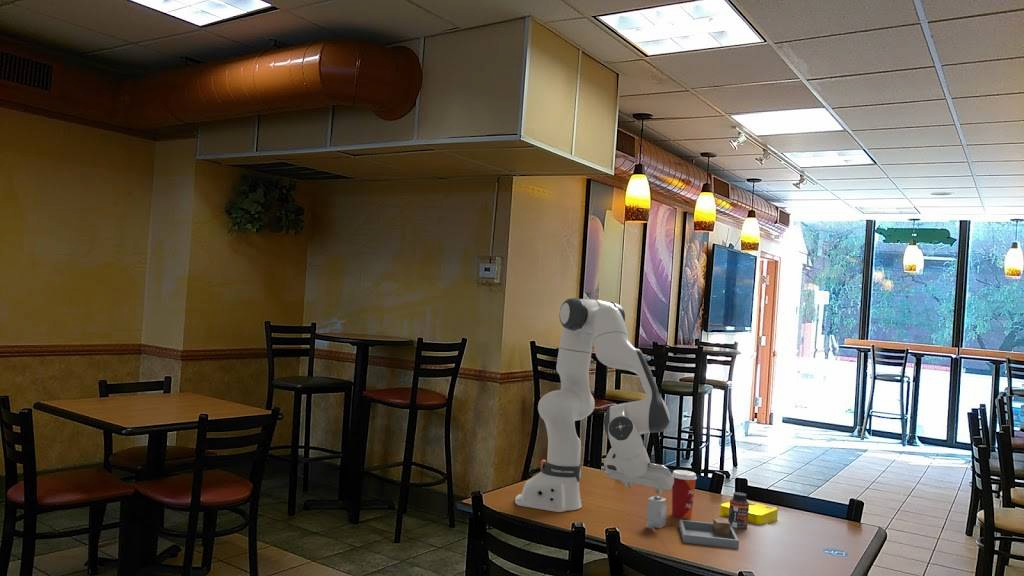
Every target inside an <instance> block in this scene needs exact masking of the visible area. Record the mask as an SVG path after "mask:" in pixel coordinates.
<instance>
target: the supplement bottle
mask: <svg viewBox="0 0 1024 576" xmlns="http://www.w3.org/2000/svg"><path fill="white" fill-rule="evenodd" d="M747 500H748V499H747V494H746V493H744V492H738V491H736V492H733V496H732V498H731V499H729V501H730V505H729V517H728V519H727V521H728V522H729V523H731V524H730V525H731V526H732V528H733V530H744V531H745V530H748V526H749V525H748V523H749V522H748V513H749V503H748V501H749V500H748V501H747Z"/></svg>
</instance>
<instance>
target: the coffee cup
mask: <svg viewBox="0 0 1024 576" xmlns="http://www.w3.org/2000/svg"><path fill="white" fill-rule="evenodd" d="M671 474H672V476H673V478H674V484H673V486H672V488H671V506H672V507H671V510H672V512H671V513H672V516H673V517H675V518H678V519H683V520H687V519H691V518H692V512H693V506H694V497H695V489H696V480H697V479H698V477H697V473H695V472H694V471H691V470H686V469H684V470H683V469H675V470H673V471H672V473H671Z"/></svg>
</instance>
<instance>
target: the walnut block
mask: <svg viewBox="0 0 1024 576" xmlns="http://www.w3.org/2000/svg"><path fill="white" fill-rule="evenodd" d="M712 520H713V521H712V523H713V533H714V534H715V535H716V536H726V537H730V524H731V523H729V522H728V519H726V518H725V519H723V518H713V519H712Z"/></svg>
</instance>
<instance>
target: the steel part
mask: <svg viewBox="0 0 1024 576" xmlns="http://www.w3.org/2000/svg"><path fill="white" fill-rule="evenodd" d="M667 503H668V499H667V498H665V497H662V496H661V495H652V496H651V497H649V498H647V509H646V510H647V511H646V512H647V513H646V528H647V529H651V530H656V529H655V528H659V529H662V527H664V526H666V520H667V505H668V504H667Z"/></svg>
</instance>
